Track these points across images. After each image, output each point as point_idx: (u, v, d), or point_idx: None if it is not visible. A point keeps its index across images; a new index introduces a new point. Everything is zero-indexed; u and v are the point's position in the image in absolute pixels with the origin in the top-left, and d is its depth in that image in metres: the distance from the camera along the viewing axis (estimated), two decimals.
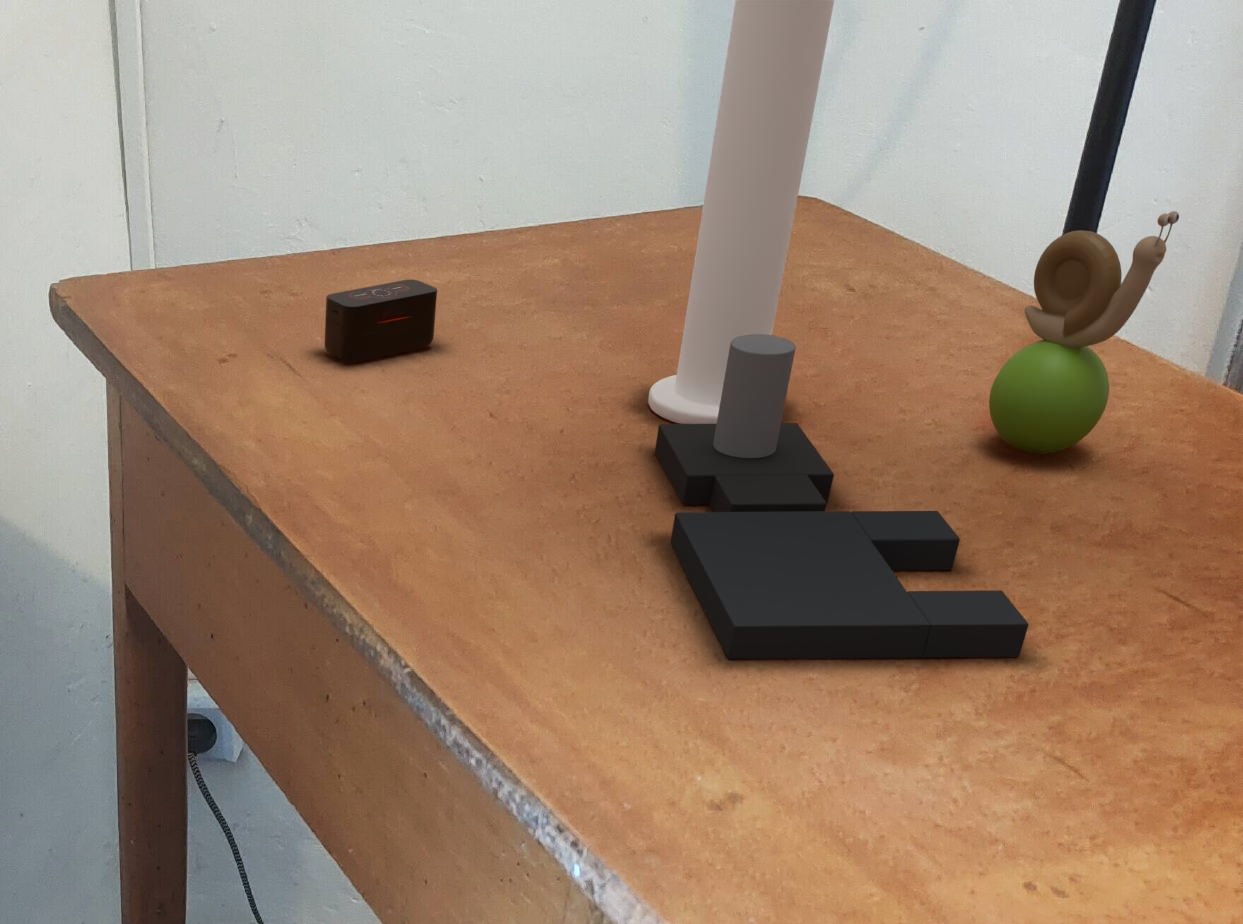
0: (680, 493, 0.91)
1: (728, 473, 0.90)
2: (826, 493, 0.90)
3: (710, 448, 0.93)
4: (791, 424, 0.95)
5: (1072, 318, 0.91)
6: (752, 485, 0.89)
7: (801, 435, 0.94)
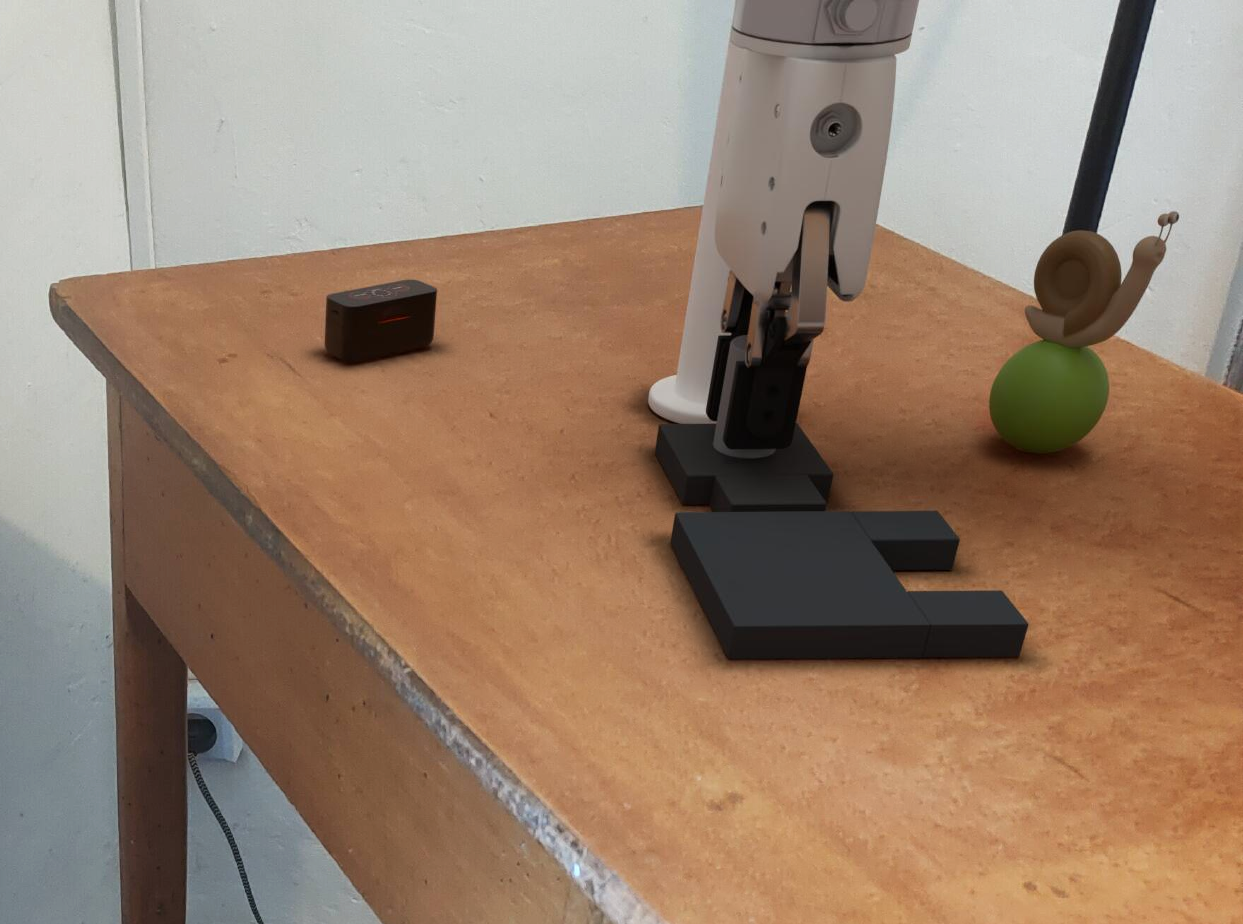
0: (680, 493, 0.91)
1: (728, 473, 0.90)
2: (826, 493, 0.90)
3: (710, 448, 0.93)
4: None
5: (1072, 318, 0.91)
6: (752, 486, 0.89)
7: (801, 435, 0.94)
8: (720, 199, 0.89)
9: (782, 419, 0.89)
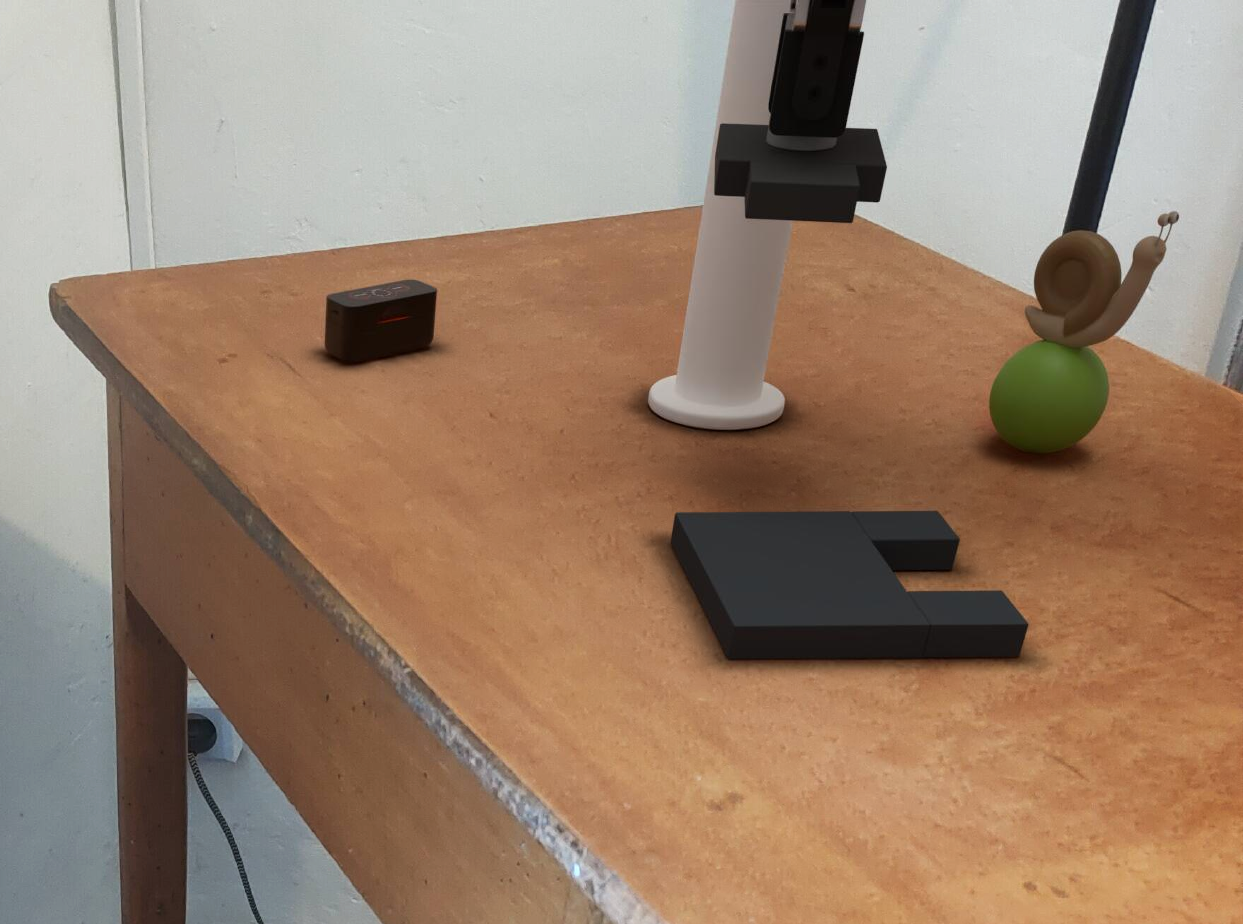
0: (715, 184, 0.83)
1: (766, 160, 0.82)
2: (878, 189, 0.81)
3: (762, 142, 0.84)
4: (869, 129, 0.86)
5: (1072, 318, 0.91)
6: (785, 169, 0.80)
7: (873, 137, 0.85)
8: None
9: (831, 97, 0.80)
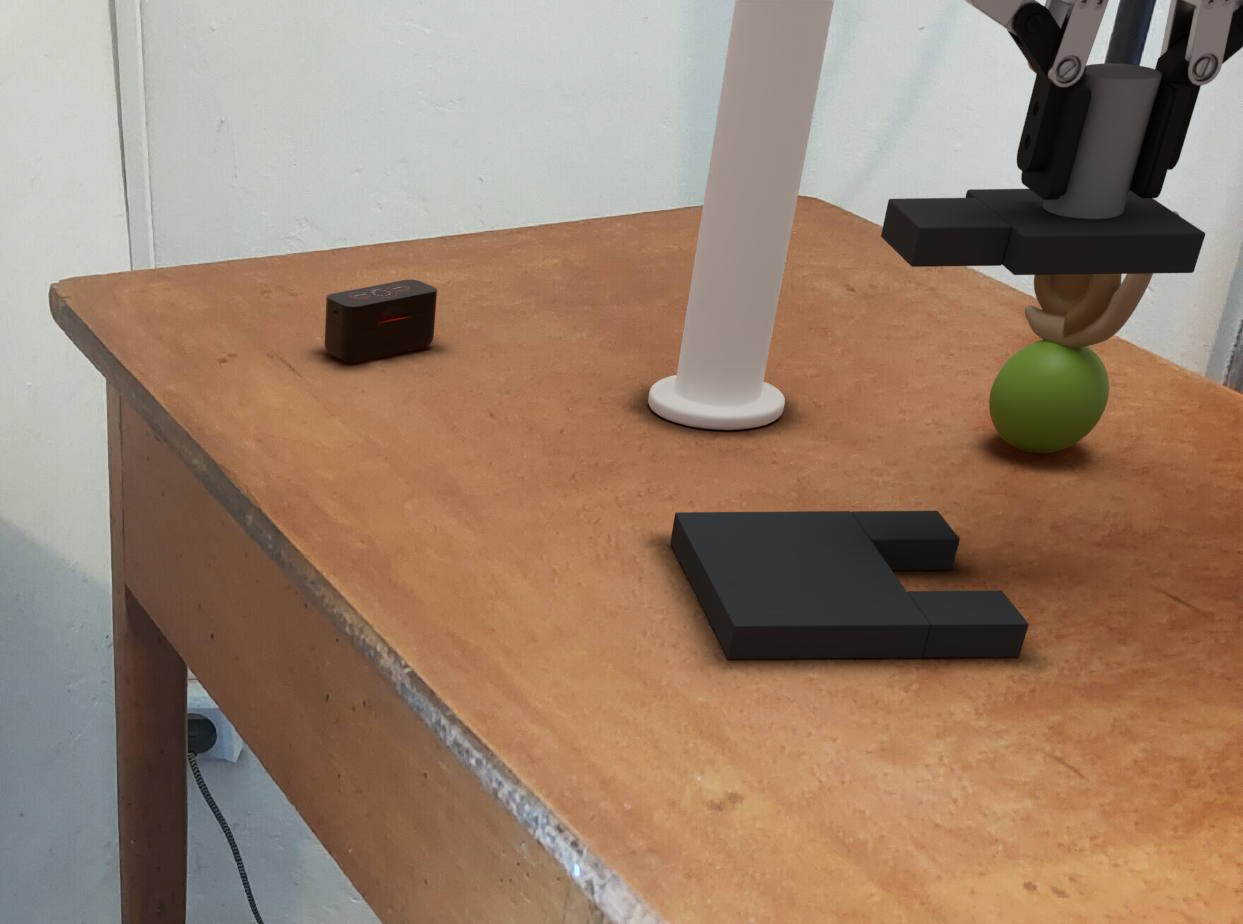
0: None
1: (984, 201, 0.77)
2: (1015, 259, 0.74)
3: None
4: (1195, 230, 0.73)
5: (1072, 318, 0.91)
6: (951, 206, 0.76)
7: (1156, 231, 0.73)
8: None
9: (1033, 150, 0.74)
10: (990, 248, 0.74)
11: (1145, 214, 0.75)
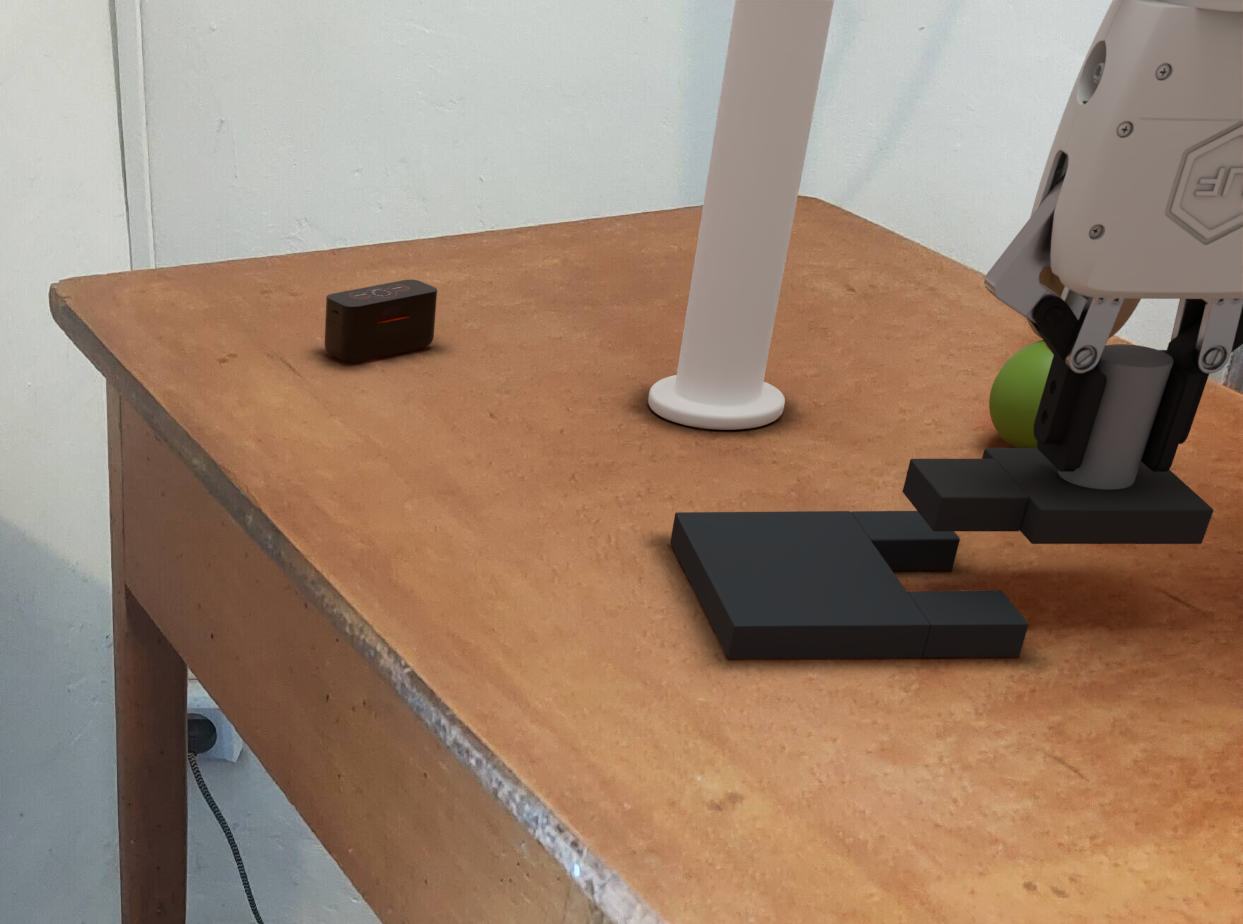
0: None
1: (1002, 463, 0.80)
2: (1033, 529, 0.77)
3: None
4: (1204, 506, 0.77)
5: None
6: (971, 470, 0.80)
7: (1167, 506, 0.76)
8: None
9: (1050, 425, 0.77)
10: (1008, 516, 0.78)
11: (1155, 483, 0.78)
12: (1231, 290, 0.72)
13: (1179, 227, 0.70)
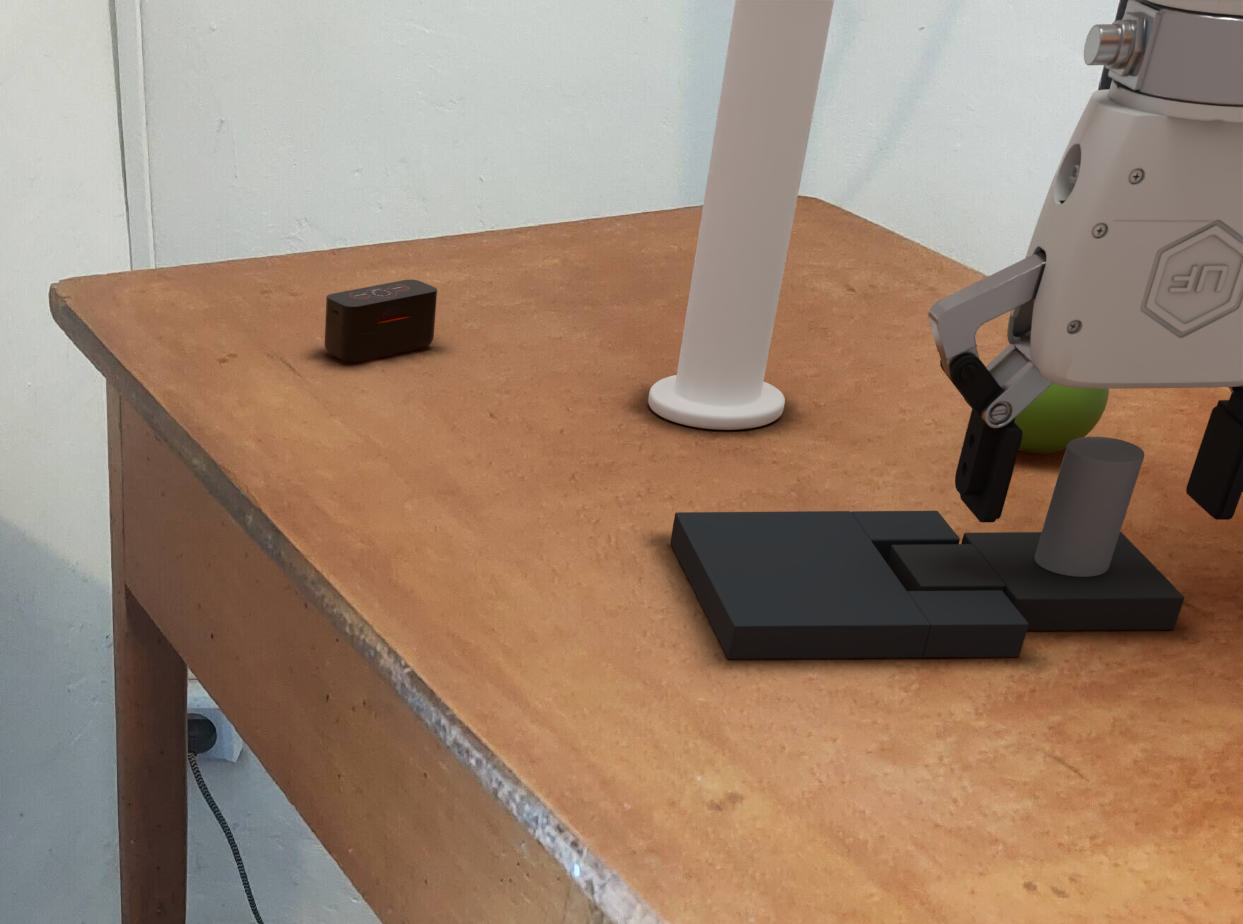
0: None
1: (980, 549, 0.83)
2: None
3: None
4: (1175, 593, 0.79)
5: None
6: (950, 557, 0.82)
7: (1139, 594, 0.79)
8: None
9: (969, 478, 0.78)
10: None
11: (1129, 570, 0.81)
12: (1206, 380, 0.74)
13: (1154, 322, 0.72)
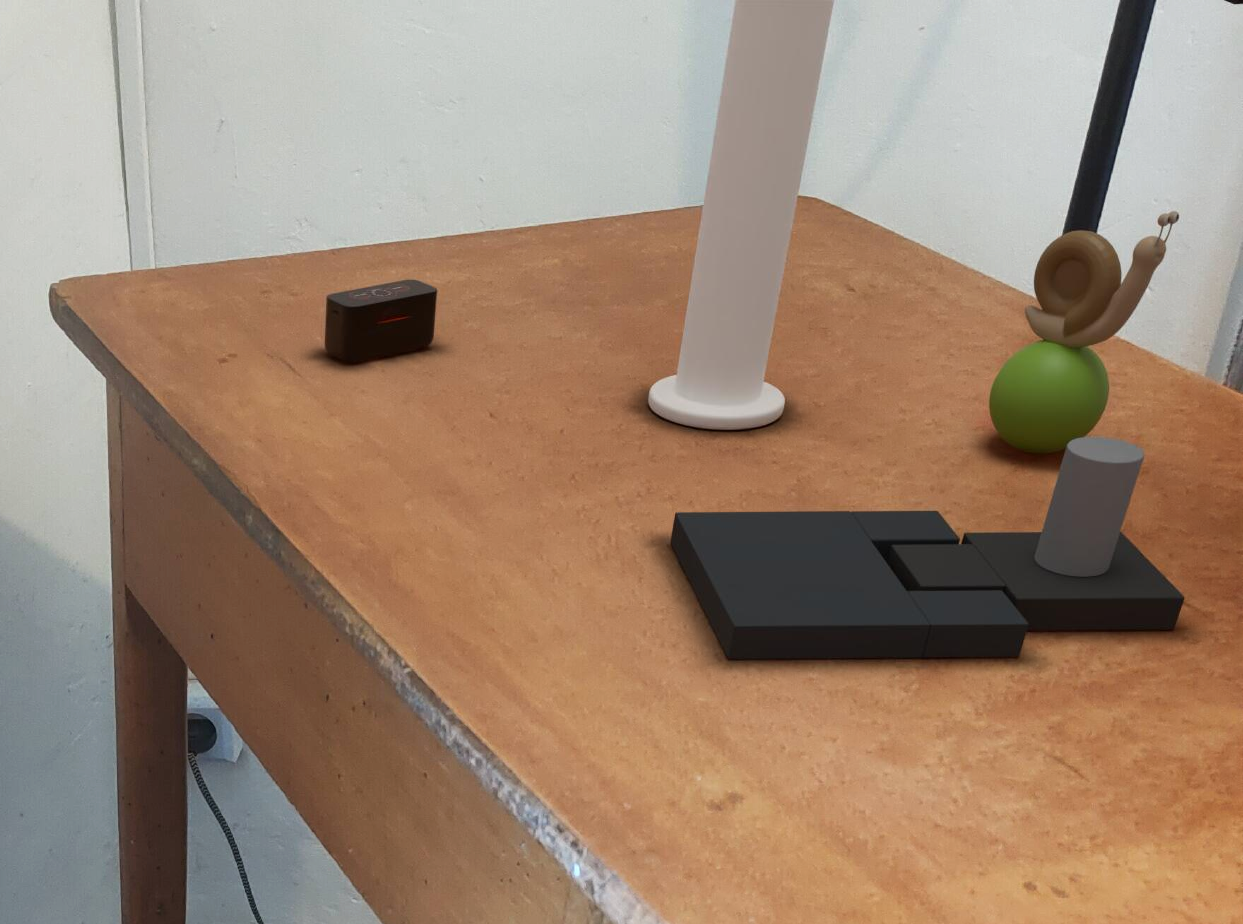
0: None
1: (980, 549, 0.83)
2: None
3: None
4: (1175, 593, 0.79)
5: (1072, 318, 0.91)
6: (950, 557, 0.82)
7: (1139, 594, 0.79)
8: None
9: None
10: None
11: (1129, 570, 0.81)
12: None
13: None
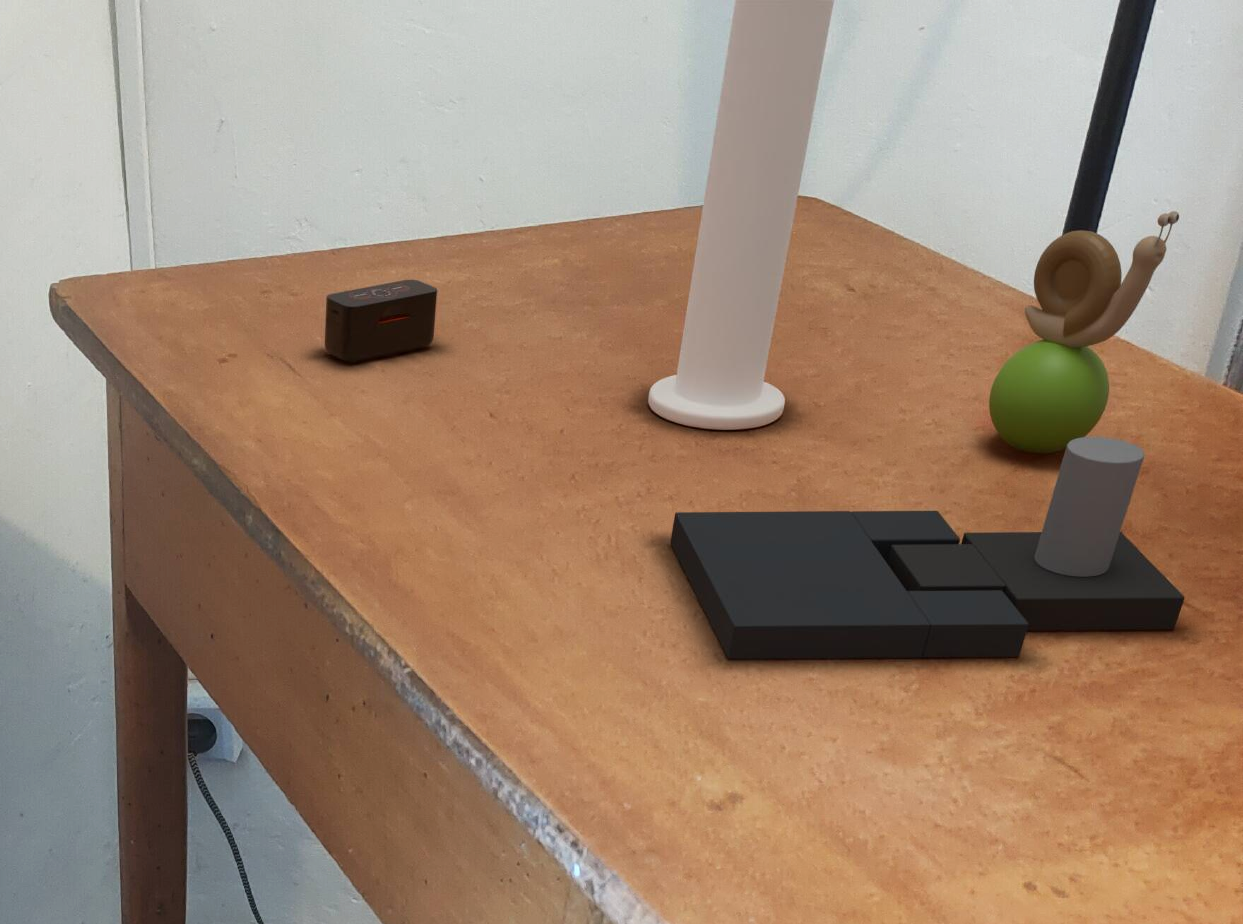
0: None
1: (980, 549, 0.83)
2: None
3: None
4: (1175, 593, 0.79)
5: (1072, 318, 0.91)
6: (950, 557, 0.82)
7: (1139, 594, 0.79)
8: None
9: None
10: None
11: (1129, 570, 0.81)
12: None
13: None
